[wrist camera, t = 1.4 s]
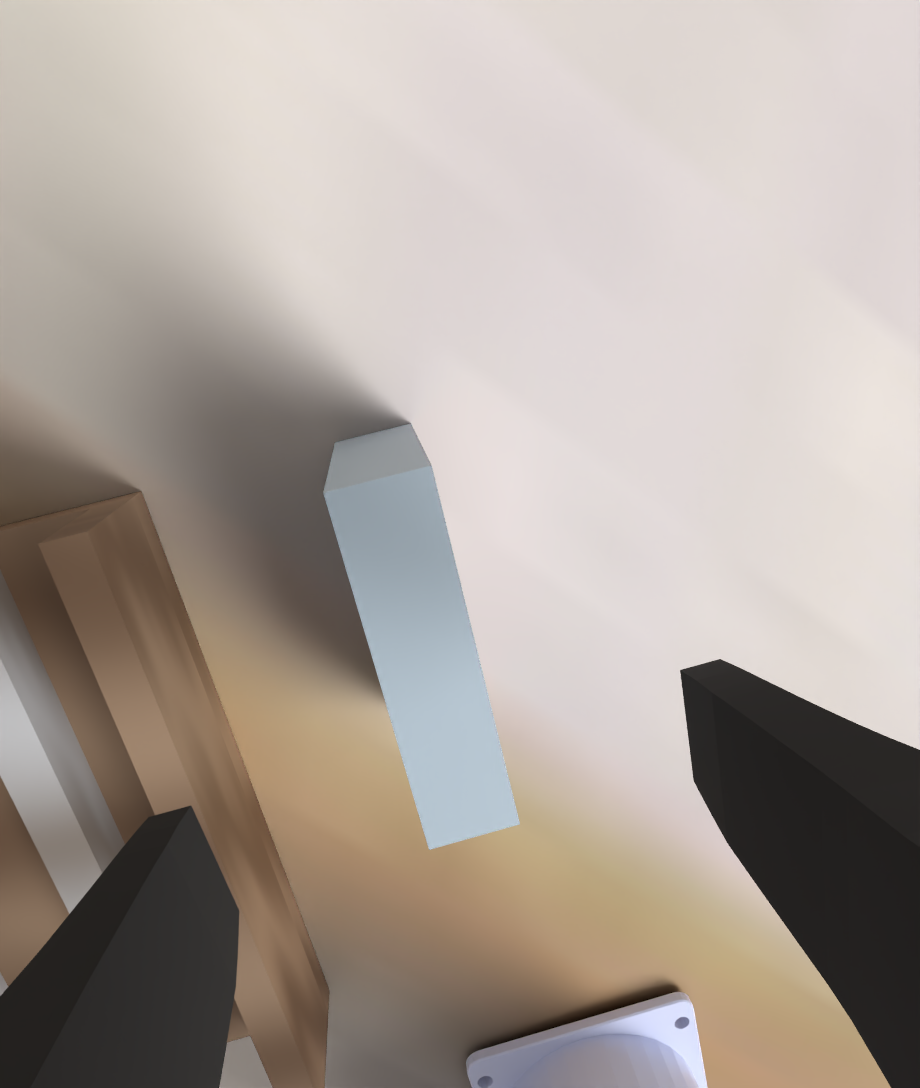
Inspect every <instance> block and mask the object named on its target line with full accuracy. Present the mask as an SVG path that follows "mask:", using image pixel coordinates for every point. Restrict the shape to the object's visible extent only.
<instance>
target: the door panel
mask: <svg viewBox="0 0 920 1088" xmlns="http://www.w3.org/2000/svg"><path fill="white" fill-rule="evenodd" d="M323 494H324V497H325V501H326V504H327V507H328V511H329V514H330V517H331V521H332V524H333V528H334V531H335V534H336V538H337V541H338V544H339V548H340V551H341V555H342V558H343V561H344V565H345V568H346V571H347V575H348V578H349V581H350V585H351V588H352V592H353V595H354V598H355V602H356V605H357V608H358V612H359V615H360V618H361V622H362V625H363V629H364V632H365V635H366V639H367V642H368V645H369V649H370V652H371V655H372V659H373V662H374V666H375V669H376V672H377V676H378V679H379V682H380V686H381V689H382V692H383V696H384V699H385V703H386V706H387V709H388V713H389V716H390V719H391V723H392V726H393V729H394V733H395V736H396V740H397V743H398V746H399V750H400V753H401V756H402V760H403V763H404V767H405V770H406V773H407V777H408V780H409V783H410V787H411V790H412V793H413V797H414V800H415V804H416V807H417V810H418V814H419V817H420V820H421V824H422V827H423V830H424V834H425V837H426V841H427V844H428V847H429V850H430V849H434V848H437V847H441V846H444V845H448V844H451V843H455V842H458V841H462V840H466V839H469V838H473V837H476V836H480V835H483V834H487V833H490V832H494V831H497V830H501V829H504V828H508V827H512V826H515V825H519V824H520V822H519V818H518V814H517V810H516V806H515V802H514V798H513V794H512V790H511V786H510V782H509V778H508V774H507V770H506V766H505V762H504V758H503V754H502V749H501V745H500V741H499V737H498V733H497V729H496V725H495V721H494V717H493V713H492V709H491V705H490V701H489V697H488V693H487V689H486V685H485V680H484V676H483V672H482V668H481V664H480V660H479V656H478V652H477V648H476V644H475V640H474V636H473V632H472V628H471V624H470V620H469V616H468V612H467V607H466V603H465V599H464V595H463V591H462V587H461V583H460V579H459V575H458V571H457V567H456V563H455V559H454V555H453V551H452V547H451V543H450V538H449V534H448V530H447V526H446V522H445V518H444V514H443V510H442V506H441V502H440V498H439V494H438V490H437V486H436V482H435V478H434V474H433V470H432V465H431V463H430V461H429V459H428V457H427V455H426V453H425V451H424V449H423V447H422V445H421V443H420V441H419V439H418V437H417V435H416V433H415V431H414V429H413V427H412V425H411V423H410V424H406V425H402V426H398V427H394V428H390V429H386V430H382V431H378V432H374V433H370V434H366V435H362V436H358V437H354V438H350V439H346V440H342V441H338V442H335V445H334V449H333V453H332V457H331V462H330V466H329V470H328V475H327V479H326V483H325V487H324V492H323Z"/></svg>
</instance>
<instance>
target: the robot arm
mask: <svg viewBox="0 0 920 1088" xmlns="http://www.w3.org/2000/svg"><path fill="white" fill-rule="evenodd" d="M680 672H681V680H682V688H683V696H684V705H685V713H686V721H687V729H688V737H689V745H690V754H691V762H692V770H693V778H694V782H695V784H696V786H697V788H698V790H699V792H700V794H701V795H702V797H703V799H704V801H705V803H706V805H707V807H708V809H709V811H710V812H711V814H712V816H713V818H714V820H715V822H716V823H717V825H718V827H719V829H720V831H721V832H722V834H723V836H724V838H725V839H726V841H727V843H728V844H729V846H730V847H731V849H732V850H733V852H734V853H735V855H736V856H737V857H738V859H739V860H740V862H741V863H742V865H743V866H744V867H745V869H746V870H747V872H748V873H749V874H750V876H751V877H752V879H753V880H754V882H755V883H756V884H757V886H758V887H759V889H760V890H761V892H762V893H763V894H764V896H765V897H766V899H767V900H768V901H769V903H770V904H771V906H772V907H773V908H774V910H775V911H776V912H777V914H778V915H779V917H780V918H781V919H782V921H783V922H784V924H785V925H786V926H787V928H788V929H789V931H790V932H791V933H792V935H793V936H794V938H795V939H796V940H797V942H798V943H799V945H800V946H801V947H802V949H803V950H804V952H805V953H806V955H807V956H808V957H809V959H810V960H811V962H812V963H813V964H814V966H815V967H816V969H817V970H818V971H819V973H820V974H821V976H822V977H823V978H824V980H825V981H826V983H827V984H828V985H829V987H830V988H831V990H832V991H833V993H834V994H835V996H836V997H837V999H838V1001H839V1002H840V1004H841V1005H842V1007H843V1008H844V1010H845V1011H846V1013H847V1014H848V1016H849V1017H850V1019H851V1020H852V1022H853V1024H854V1025H855V1027H856V1029H857V1030H858V1032H859V1034H860V1035H861V1037H862V1039H863V1040H864V1042H865V1044H866V1046H867V1047H868V1049H869V1051H870V1052H871V1054H872V1056H873V1057H874V1059H875V1061H876V1063H877V1064H878V1066H879V1068H880V1069H881V1071H882V1073H883V1074H884V1076H885V1078H886V1079H887V1081H888V1083H889V1085H890V1086H891V1088H920V750H918V749H916V748H913V747H911V746H908V745H906V744H903V743H901V742H898V741H896V740H894V739H891V738H889V737H886V736H884V735H881V734H879V733H877V732H875V731H872V730H870V729H868V728H865V727H863V726H861V725H858V724H856V723H854V722H852V721H850V720H847V719H845V718H843V717H841V716H838V715H836V714H834V713H832V712H830V711H828V710H826V709H823V708H821V707H819V706H817V705H815V704H813V703H811V702H809V701H806V700H804V699H802V698H800V697H798V696H796V695H794V694H792V693H790V692H788V691H786V690H784V689H782V688H780V687H778V686H776V685H773V684H771V683H769V682H767V681H765V680H763V679H761V678H759V677H757V676H755V675H753V674H751V673H749V672H747V671H745V670H743V669H741V668H739V667H736V666H734V665H732V664H730V663H728V662H725V661H723V660H721V659H719V660H715V661H712V662H708V663H705V664H701V665H697V666H694V667H690V668H686V669H683V670H680ZM238 937H239V909H238V907H237V905H236V902H235V900H234V898H233V896H232V894H231V891H230V889H229V887H228V885H227V883H226V880H225V878H224V876H223V874H222V872H221V869H220V867H219V865H218V863H217V861H216V858H215V856H214V854H213V852H212V850H211V847H210V845H209V843H208V841H207V839H206V836H205V834H204V832H203V830H202V828H201V825H200V823H199V821H198V819H197V817H196V815H195V812H194V810H193V808H192V806H187V807H183V808H180V809H176V810H172V811H169V812H165V813H162V814H158V815H154V816H151V817H148V818H147V819H146V820H145V822H144V823H143V824H142V825H141V826H140V827H139V828H138V829H137V831H136V832H135V833H134V834H133V835H132V837H131V838H130V839H129V840H128V842H127V843H126V844H125V845H124V846H123V848H122V849H121V850H120V851H119V853H118V854H117V855H116V856H115V858H114V859H113V860H112V861H111V863H110V864H109V865H108V866H107V868H106V869H105V870H104V871H103V873H102V874H101V875H100V877H99V878H98V879H97V880H96V882H95V883H94V884H93V885H92V887H91V888H90V889H89V890H88V892H87V893H86V894H85V895H84V897H83V898H82V899H81V900H80V902H79V903H78V904H77V905H76V906H75V908H74V909H73V910H72V911H71V913H70V914H69V915H68V916H67V918H66V919H65V920H64V921H63V923H62V924H61V925H60V926H59V928H58V929H57V930H56V931H55V932H54V934H53V935H52V936H51V937H50V939H49V940H48V941H47V942H46V944H45V945H44V946H43V947H42V948H41V950H40V951H39V952H38V953H37V954H36V955H35V957H34V958H33V959H32V960H31V961H30V962H29V964H28V965H27V966H26V967H25V968H24V969H23V970H22V972H21V973H20V974H19V975H18V976H17V977H16V979H15V980H14V981H13V982H12V983H11V984H10V985H9V987H8V988H7V989H6V990H5V991H4V992H3V994H2V995H1V996H0V1088H219V1085H220V1079H221V1074H222V1068H223V1062H224V1056H225V1051H226V1044H227V1038H228V1032H229V1026H230V1020H231V1014H232V1008H233V1002H234V995H235V989H236V977H237V960H238ZM466 1067H467V1074H468V1078H469V1081H470V1084H471V1087H472V1088H707V1082H706V1077H705V1071H704V1065H703V1059H702V1054H701V1048H700V1042H699V1036H698V1031H697V1025H696V1019H695V1013H694V1008H693V1005H692V1003H691V1001H690V999H689V997H688V995H687V994H685V993H683V992H673V993H670V994H666V995H663V996H660V997H656V998H653V999H650V1000H646V1001H643V1002H640V1003H636V1004H633V1005H629V1006H626V1007H623V1008H619V1009H616V1010H613V1011H609V1012H606V1013H603V1014H599V1015H596V1016H592V1017H589V1018H586V1019H582V1020H579V1021H576V1022H572V1023H569V1024H566V1025H562V1026H559V1027H555V1028H552V1029H549V1030H545V1031H542V1032H539V1033H535V1034H532V1035H529V1036H525V1037H522V1038H518V1039H515V1040H512V1041H508V1042H505V1043H502V1044H498V1045H495V1046H492V1047H488V1048H485V1049H481V1050H478V1051H476V1052H474V1053H472V1054H471V1055H470V1056H469V1057H468V1058H467V1061H466Z"/></svg>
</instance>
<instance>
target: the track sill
mask: <svg viewBox="0 0 920 1088" xmlns="http://www.w3.org/2000/svg"><path fill="white" fill-rule="evenodd" d="M187 806H192V808H193V810H194V812H195V815H196V817H197V819H198V821H199V823H200V825H201V828H202V830H203V832H204V834H205V836H206V839H207V841H208V843H209V845H210V847H211V850H212V852H213V854H214V856H215V858H216V861H217V863H218V865H219V867H220V869H221V872H222V874H223V876H224V878H225V880H226V883H227V885H228V887H229V889H230V891H231V894H232V896H233V898H234V900H235V902H236V905H237V907H238V909H239V937H238V960H237V977H236V989H235V995H234V1002H233V1008H232V1014H231V1020H230V1026H229V1032H228V1038H227V1042H230V1041H233V1040H237V1039H240V1038H244V1037H247V1036H251V1038H252V1041H253V1043H254V1045H255V1048H256V1050H257V1052H258V1054H259V1057H260V1059H261V1061H262V1064H263V1066H264V1068H265V1071H266V1073H267V1075H268V1078H269V1080H270V1082H271V1085H272V1087H273V1088H324V1086H325V1067H326V1047H327V1028H328V1009H329V988H328V986H327V983H326V980H325V978H324V975H323V972H322V970H321V967H320V964H319V962H318V959H317V956H316V954H315V951H314V948H313V946H312V943H311V940H310V938H309V935H308V933H307V930H306V927H305V925H304V922H303V919H302V917H301V914H300V911H299V909H298V906H297V903H296V901H295V898H294V895H293V893H292V890H291V887H290V885H289V882H288V879H287V877H286V874H285V871H284V869H283V866H282V864H281V861H280V858H279V856H278V853H277V850H276V848H275V845H274V842H273V840H272V837H271V834H270V832H269V829H268V826H267V824H266V821H265V818H264V816H263V813H262V810H261V808H260V805H259V802H258V800H257V797H256V795H255V792H254V789H253V787H252V784H251V781H250V779H249V776H248V773H247V771H246V768H245V765H244V763H243V760H242V757H241V755H240V752H239V749H238V747H237V744H236V741H235V739H234V736H233V733H232V731H231V728H230V726H229V723H228V720H227V718H226V715H225V712H224V710H223V707H222V704H221V702H220V699H219V696H218V694H217V691H216V688H215V686H214V683H213V680H212V678H211V675H210V672H209V670H208V667H207V664H206V662H205V659H204V656H203V654H202V651H201V649H200V646H199V643H198V641H197V638H196V635H195V633H194V630H193V627H192V625H191V622H190V619H189V617H188V614H187V611H186V609H185V606H184V603H183V601H182V598H181V595H180V593H179V590H178V587H177V585H176V582H175V580H174V577H173V574H172V572H171V569H170V566H169V564H168V561H167V558H166V556H165V553H164V550H163V548H162V545H161V542H160V540H159V537H158V534H157V532H156V529H155V526H154V524H153V521H152V518H151V516H150V513H149V511H148V508H147V505H146V503H145V500H144V497H143V495H142V492H141V491H140V492H136V493H132V494H128V495H124V496H120V497H116V498H112V499H108V500H104V501H100V502H96V503H92V504H88V505H84V506H80V507H76V508H72V509H68V510H64V511H60V512H56V513H52V514H48V515H44V516H40V517H36V518H32V519H28V520H24V521H20V522H16V523H12V524H8V525H4V526H0V996H1V995H2V994H3V992H4V991H5V990H6V989H7V988H8V987H9V985H10V984H11V983H12V982H13V981H14V980H15V979H16V977H17V976H18V975H19V974H20V973H21V972H22V970H23V969H24V968H25V967H26V966H27V965H28V964H29V962H30V961H31V960H32V959H33V958H34V957H35V955H36V954H37V953H38V952H39V951H40V950H41V948H42V947H43V946H44V945H45V944H46V942H47V941H48V940H49V939H50V937H51V936H52V935H53V934H54V932H55V931H56V930H57V929H58V928H59V926H60V925H61V924H62V923H63V921H64V920H65V919H66V918H67V916H68V915H69V914H70V913H71V911H72V910H73V909H74V908H75V906H76V905H77V904H78V903H79V902H80V900H81V899H82V898H83V897H84V895H85V894H86V893H87V892H88V890H89V889H90V888H91V887H92V885H93V884H94V883H95V882H96V880H97V879H98V878H99V877H100V875H101V874H102V873H103V871H104V870H105V869H106V868H107V866H108V865H109V864H110V863H111V861H112V860H113V859H114V858H115V856H116V855H117V854H118V853H119V851H120V850H121V849H122V848H123V846H124V845H125V844H126V843H127V842H128V840H129V839H130V838H131V837H132V835H133V834H134V833H135V832H136V831H137V829H138V828H139V827H140V826H141V825H142V824H143V823H144V822H145V820H146V819H147V818H148V817H151V816H154V815H158V814H162V813H165V812H169V811H172V810H176V809H180V808H183V807H187Z"/></svg>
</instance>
